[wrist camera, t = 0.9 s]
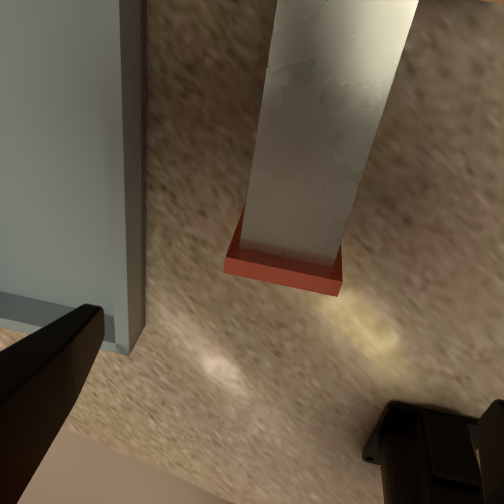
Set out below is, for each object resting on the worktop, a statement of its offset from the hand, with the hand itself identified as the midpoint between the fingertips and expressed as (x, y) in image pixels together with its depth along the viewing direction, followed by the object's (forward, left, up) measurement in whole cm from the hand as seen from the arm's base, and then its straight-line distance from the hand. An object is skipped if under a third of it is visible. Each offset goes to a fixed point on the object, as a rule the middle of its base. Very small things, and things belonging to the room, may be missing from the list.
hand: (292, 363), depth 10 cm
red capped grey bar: (+5, 0, -12) cm, 13 cm away
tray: (-3, +13, -12) cm, 18 cm away
